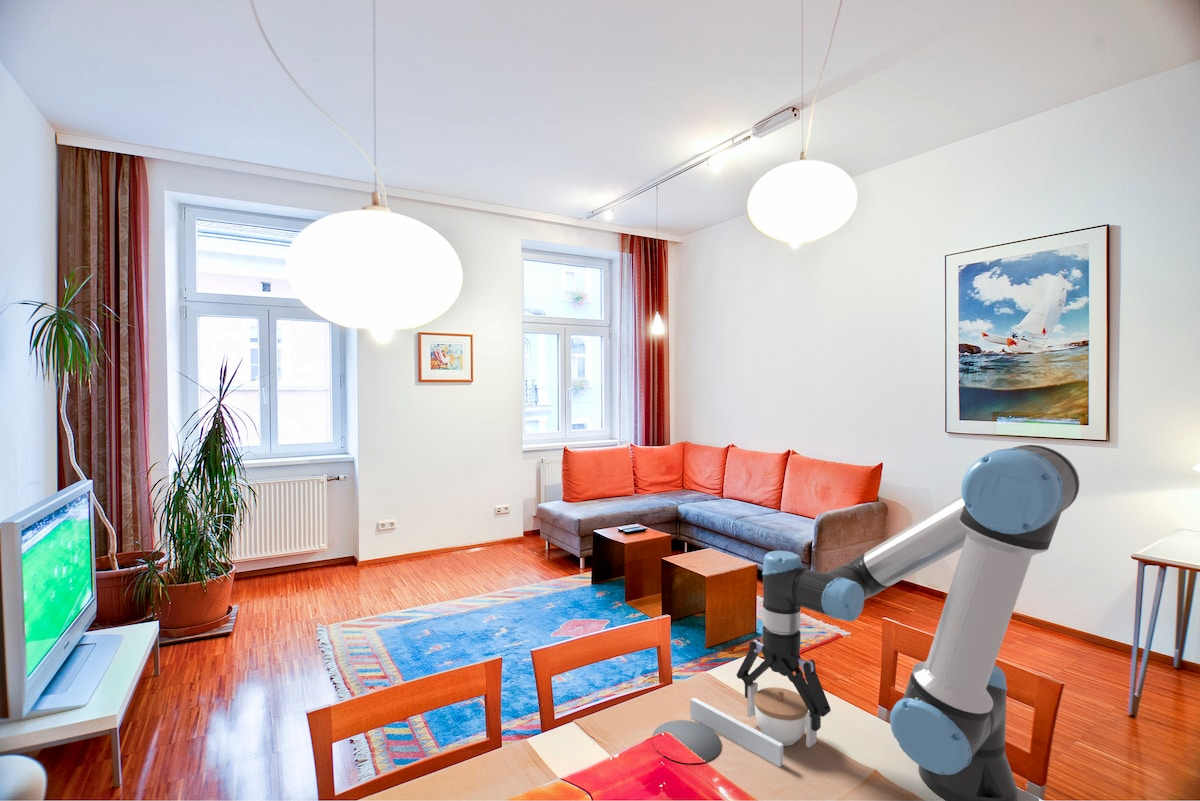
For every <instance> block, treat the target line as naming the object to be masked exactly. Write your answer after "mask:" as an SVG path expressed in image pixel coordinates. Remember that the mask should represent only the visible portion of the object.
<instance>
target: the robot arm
mask: <svg viewBox="0 0 1200 801" xmlns="http://www.w3.org/2000/svg"><path fill="white" fill-rule="evenodd" d="M1080 486H1081V485H1080V477H1079V475H1078V471H1077V468H1076V467H1075V466H1074V465H1073V463H1072V462H1071V461H1070V459H1068V458H1067V457H1066V456H1064V455H1063V454H1062V453H1061V452H1059V451H1056V450H1055V449H1052V448H1050V447H1046V446H1043V445H1035V444H1026V445H1025V444H1024V445H1019V446H1014V447H1011V448H1003V449H997V450H994V451H992V452H989V453H986V454H984V455H983V456H982V457H979V459H978V460H976V461H975V462H974V463H972V465H971V466H970V467H969V468H968V469H967V471H966V472H965V474H964V477H963V479H962V483H961V495H960V496H958V497H957V498H955V499H953V500H951V501H950V502H948V503H946V504H945V505H943V506H942V507H940V508H938V509H936V510H934V511H933V512H932V513H930V514H928V515H926V516H925V517H923V518H922V519H920V520H918V521H916V522H915V523H913V524H911V525H909V526H908V527H906V528H905V529H903V530H901V531H899V532H898V533H896V534H894V535H893V536H891V537H889V538H888V539H886V540H885V541H882V542H881V543H879V544H877V545H876V546H874V547H873V548H871V549H869V550H868V551H866V552H865V553H862V554H861V555H859V556H857V557H856V558H854V559H852V560H850V561H849V562H847V563H845V564H843V565H841V566H839V567H836V568H834V569H831V570H829V571H827V572H821V571H816V570H812V569H809V568H806V567H803V563H802V559H801V557H800V555H799V554H796V553H794V552H792V551H789V550H788V551H786V550H773V551H769V552H767V553H766V554H765V555H764V556H763V565H762V573H761V575H762V622H761V623H762V639H760V638H756V639H754V640H753V641H749V647H748V652H747V654H746V656H745V658H744V660H743V662H742V663H741V665H740V667H739V670H738V671H737V673H736V677H737V679H739V680H740V679H741V680H742V681H743V683H744V697H745V699H747V717H749V718H752V717H754V716H756V715H755V703H754V696H755V694H756V693H757V692H758V691H759V685H758V682H756V680H757V679H758V678H759V677H760V676H761V675H763V673H765V672H766V671H767V670H768V669H769V668H770V669H771V671H772V672H774V673H779V674H780V675H781V676H783V677H787V678H788V680H789V681H790V682H791V683H792V684H793V686H794V687H795V689H796V690H797V693H798V694H799V695H800V696H801V698H802V699H803V701H804V703H805V705H806V706H807V708H808V713H806V729H805V732H806V733H805V738H806V739H805V746H806V747H807V748H811V747H812V746H814V745H815V744H816V743H817V742H818V740H817V737H818V736H817V735H818V734H817V731H819V730H820V729H821V726H822V724H821V722H822V719H821V718H822V717H825V716H827V714H829V713H830V712H831V711H832V710H831V706H830V704H829V701H828V698H827V697H826V694H825V691H824V689H823V686H822V684H821V681H820V678H819V676H818V674H817V670H816V669H817V667H816V662H815V660H814V659H813V658H811V659H809V660H806V659H803V658H802V657H801V655H800V652H801V630H800V629H801V612H802V611H801V608H803V609H807V610H810V611H812V612H816V613H818V614H821V615H825V616H828V617H830V618H831V619H835V620H841V621H845V622H854V621H856V620H857V619H859V616H860V615H861V613H862V612H863V610H864V609H863V608H864V606H865V600H866V599H869V598H872V597H874V596H876V595H878V594H879V593H880V592H883V591H884V590H885V589H888V588H889V587H890V586H893V585H895V584H896V583H898V582H900V581H902V580H904V579H907V578H908V577H910V576H912V575H914V574H916V573H917V572H919V571H921V570H924V569H925V568H927V567H929V566H931V565H933V564H934V563H937V562H938V561H940V560H942V559H944V558H946V557H947V556H949V555H952V554H953V553H955V552H958V551H959V550H961V552H960V555H959V558H958V560H957V564H956V567H955V571H954V574H953V577H952V580H951V582H950V586H949V590H948V591H947V596H946V599H945V602H944V605H943V608H942V611H941V615H940V618H939V621H938V624H937V627H936V629H935V630H936V631H935V632H934V637H933V640H932V643H931V646H930V648H929V653H928V655H927V658H926V660H924V661H920V662H916V663H915V664H914V665H913V668H912V671H911V673H910V676H909V679H908V683H907V686H906V690H905V692H904V694H903V695H902V698H901V699H899V700H898V701H896V702H895V704H894V705H893V707H892V709H891V712H890V716H889V724H890V728H891V732H892V735H893V737H894V739H896V741H897V742H898V746H899V747H900V748H901V750H902V752H904V753H905V754H906V755H907V757H909V759H911V761H912V762H914V763H916V764H917V765H918V774H919V776H920V779H921V780H922V781H923V783H924V784H925V785H926V786H927V787H928V788H929V789H930V790H932V792H934V793H935V794H937V796H939V797H941V798H943V799H944V800H946V801H1018V800H1017V799H1018V788H1017V784H1016V780H1015V777H1014V775H1013V772H1012V769H1011V766H1010V763H1009V760H1008V756H1007V755H1006V732H1007V731H1006V730H1007V728H1006V724H1007V691H1008V687H1007V679H1006V678H1007V677H1006V674H1005V672H1004V671H1003V670H1002V668H1000V667H999V666H998V665H996V660H997V658H998V656H999V653H1000V650H1001V647H1002V644H1003V641H1004V638H1005V635H1006V633H1007V629H1008V627H1009V623H1010V620H1011V619H1012V618H1011V617H1012V615H1013V612H1014V609H1015V607H1016V603H1017V600H1018V598H1019V594H1020V592H1021V589H1022V586H1023V583H1024V581H1025V580H1024V579H1025V577H1026V574H1027V571H1028V569H1029V566H1030V563H1031V560H1032V557H1033V556H1034V555H1035V556H1036V555H1038V554H1041V553H1045V552H1047V551H1048V550H1049V548H1050V545H1051V542H1052V540H1053V538H1054V534H1055V532H1056V528H1057V525H1058V523H1059V520H1060V517H1061V515H1062V513H1063V512H1064V511H1066V510H1067V509H1068V508H1070V506H1072V504H1073V503H1074V502H1075V500H1076V499H1077V497H1078V495H1079V492H1080ZM761 640H762V641H761ZM759 653H762V655H763V657H764V660H763V661H762V662H761V663H760V664H759V665H758V666H756V668H755V669H754V670H753V671H752V672H750V670H751V668H753V667H752V666H753V665H754V662H755V661H756V659H757V657H758V656H759ZM800 667H801V668H800ZM749 672H750V674H749ZM794 673H795V674H794Z"/></svg>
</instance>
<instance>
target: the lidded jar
mask: <svg viewBox="0 0 1200 801" xmlns="http://www.w3.org/2000/svg"><path fill="white" fill-rule="evenodd" d="M754 703H755V715H754V716H755V719H756V723H757V726H758V728H759V729H760V732H761V733H763V734H765V735H767V736H769V737H771V738H773V739H774V740H776V741H778V742H780V743H782V744H783V747H790V746H792V745H795V743H796V742H798V741H799V740H800V739H801V738H802V737H803V735H804V734H805V732H806V713H808V712H809V710H808V708H807V706H806V705H805V703H804V701H803V699H802V698H801V696H800V694H799V693H798V692H795V691H793V690H791V689H786V688H783V687H776V686H775V687H764V688H761V689H758V692H757V693H756V694H755V696H754Z"/></svg>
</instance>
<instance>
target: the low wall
mask: <svg viewBox="0 0 1200 801" xmlns="http://www.w3.org/2000/svg"><path fill="white" fill-rule="evenodd" d="M689 712H690V716H689V717H690V718H691V719H693V720H694V721H695V722H697V723H700V724H703V725H705V726H707V727H709V728H710V729H712V730H713V731H714V732H715V733H718V734H720V736H721V735H722V736H723V737H725V738H727V739H728V740H730V741H732V742H734V743H735V744H738V745H739V746H741V747H742V748H744V749H746V750H748V751H749V752H752V753H753V754H755V755H757V756H759V757H761V758H762V759H764V760H766V761H768V762H770V763H772V764H773V765H774V766H777V767H778V768H781V767H782V766H783V765H784V746H783V744H782V743H780V742H778V741H776V740H774V739H773V738H771V737H769V736H767V735H765V734H763V733H762V731H759V730H757V729H755V728H753V727H751V726H749V725H747V724H746V723H744V722H742V721H740V720H738V719H736V718H734V717H732V716H730V715H729V714H728V713H727V714H726V713H725V712H723V711H721V710H719V709H716V707H713V706H711V705H710V704H707V703H705V702H703V701H702V700H700V699H698V698H696V697H692V698H690V711H689Z"/></svg>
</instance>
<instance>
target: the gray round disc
mask: <svg viewBox="0 0 1200 801" xmlns="http://www.w3.org/2000/svg"><path fill="white" fill-rule="evenodd" d="M662 732H669V733H671V734H672V735H673V736H674V737H675V738H677V739H678V740H680V741H681V742H682V743H683V744H685V746H687V747H688V748H689V749H690V750H692V751H693V752H694V753H696V754H697V755H698V756H699V757H701V758H702V759H703V760H705V761H706V762H705V763H708V762H709V761H712V760H713V759H715V758H716V757H717V756H718V755H719V754H720V752H721V748H722V742H721V739H720V737H719V735H718V734H717V732H716V731H714V730H712V729H711V728H709V727H707V726H705V725H703V724H702V723H700V722H698V721H693V720H684V719H682V720H681V719H680V720H679V719H678V720H672V721H667V722H664V723H662V724H661V725H659V726H657V727H656V728H655V730H653V733H652V735H651V737H652V736H654V735H656V734H659V733H662Z"/></svg>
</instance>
